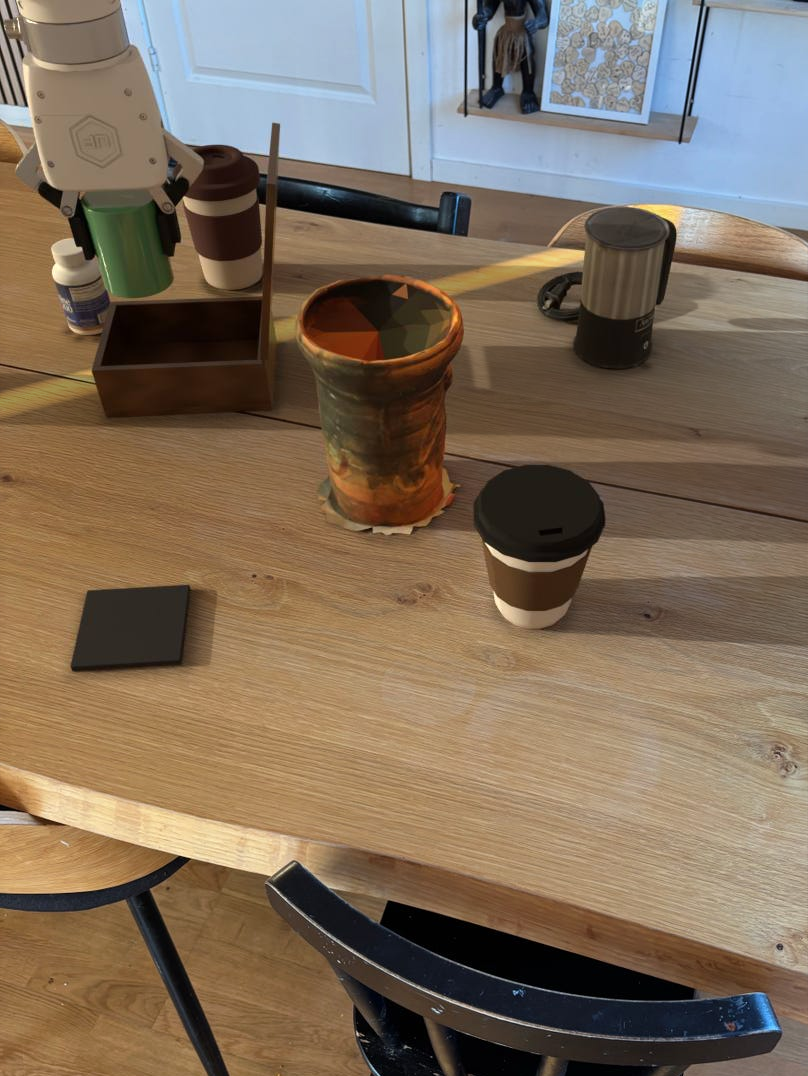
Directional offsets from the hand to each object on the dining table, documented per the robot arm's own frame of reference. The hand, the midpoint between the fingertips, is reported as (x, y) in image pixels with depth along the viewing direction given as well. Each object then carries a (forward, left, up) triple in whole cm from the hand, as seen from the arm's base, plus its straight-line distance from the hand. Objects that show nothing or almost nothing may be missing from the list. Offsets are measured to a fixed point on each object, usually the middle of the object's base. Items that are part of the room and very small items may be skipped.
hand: (131, 249), depth 93 cm
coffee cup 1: (+4, +31, -20) cm, 37 cm away
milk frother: (+47, +15, -20) cm, 53 cm away
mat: (-1, -29, -20) cm, 35 cm away
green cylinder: (0, 0, -3) cm, 3 cm away
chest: (+1, +9, -20) cm, 22 cm away
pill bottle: (-12, +21, -20) cm, 31 cm away
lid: (+11, +9, -4) cm, 15 cm away
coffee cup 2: (+34, -29, -20) cm, 49 cm away
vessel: (+22, -13, -20) cm, 33 cm away
